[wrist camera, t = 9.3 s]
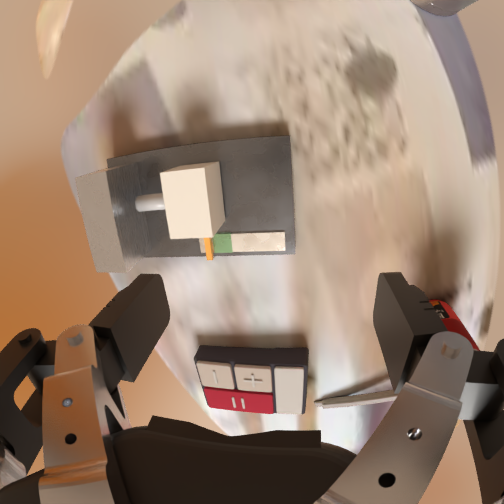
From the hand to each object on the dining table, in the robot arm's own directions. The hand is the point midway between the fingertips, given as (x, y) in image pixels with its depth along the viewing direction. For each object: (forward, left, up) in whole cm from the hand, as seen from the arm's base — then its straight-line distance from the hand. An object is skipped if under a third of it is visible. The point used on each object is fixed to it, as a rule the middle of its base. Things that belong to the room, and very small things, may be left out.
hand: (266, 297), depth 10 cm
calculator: (+26, -5, -21) cm, 34 cm away
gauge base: (+1, -9, -21) cm, 23 cm away
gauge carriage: (+2, -10, -19) cm, 22 cm away
